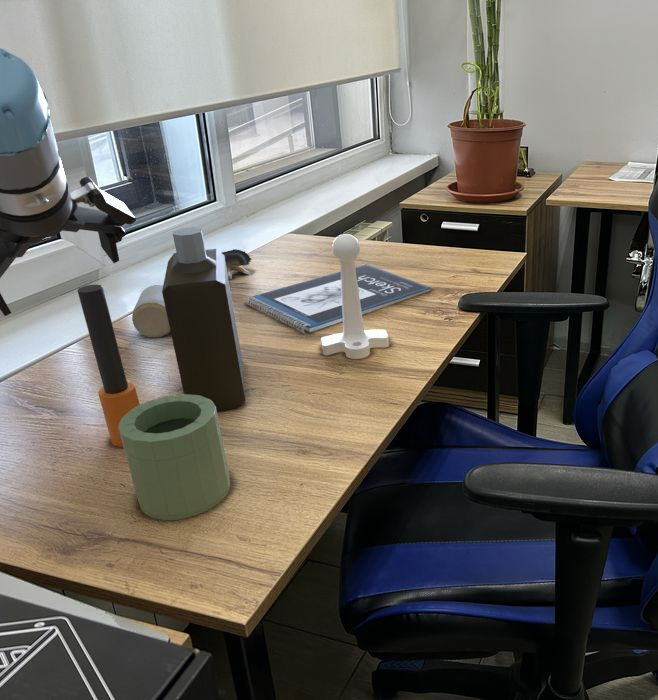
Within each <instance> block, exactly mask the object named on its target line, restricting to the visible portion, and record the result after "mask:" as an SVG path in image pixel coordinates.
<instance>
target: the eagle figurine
mask: <svg viewBox="0 0 658 700" xmlns="http://www.w3.org/2000/svg"><path fill="white" fill-rule="evenodd" d="M221 253H222V254H223V255H224V257H225V263H226V268H227V274H228V280H232V279H233V275H232V273H231V271H235V272H239V273H242V274H245V275H247V276H249V275H250V271H249V270H247V269H245V268H244V267H243V266H248V265H250V263H251V261H252V257H250V255H249V254H248V253H247V252H246V251H244V250H241V249H237V248H233V249H231V250H227V251H222V252H221Z"/></svg>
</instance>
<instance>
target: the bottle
mask: <svg viewBox="0 0 658 700" xmlns="http://www.w3.org/2000/svg"><path fill="white" fill-rule="evenodd" d="M172 237H173V241H174V246H175V252H173V254H172V255H171V256H170V258H169V259H168V261H167V264H166V269H165V275H164V279H163V284H162V285H163V289H162V294H163V299H164V304H165V308H166V313H167V317H168V322H169V327H170V331H171V332H170V335H171V340H172V345H173V349H174V354H175V358H176V363H177V367H178V368H177V369H178V372H179V377H180V381H181V386H182V391H183V394H188V395H200V396H202V397H205V398H208V399H210V400H211V401H212V402H213V403H214V405H215V406H216V410H217V413H218V412H223V411H229V410H235V409H236V410H237V409H238V408H240V407H243V405H244V403H246V391H245V390H246V389H245V377H244V376H245V375H244V364H243V356H242V351H241V344H240V339H239V334H238V326H237V321H236V316H235V311H234V304H233V299H232V292H231V286H230V279H229V278H228V274H227V268H226V263H225V257H224V255H223V254H222V252H221V251H220V250H218V249H217V248H210V249H209V248H208V249H206V246H205V240H204V235H203V229H202V228H200V227H194V226H193V227H192V226H191V227H182V228H179V229H176V230H173V232H172Z"/></svg>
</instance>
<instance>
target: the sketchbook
mask: <svg viewBox="0 0 658 700" xmlns="http://www.w3.org/2000/svg"><path fill="white" fill-rule="evenodd" d="M355 270H356V277H357V284H358V291H359V298H360V305H361V312H362V316H363V315H366V314H369V313H371V312H374V311H377V310H380V309H383V308H385V307H388V306H392V305H394V304H397V303H400V302H402V301H406V300H409V299H411V298H414V297H417V296H420V295H422V294H426V293H429V292H431V290H432V289H431V287H430V286H428V285H425V284H422V283H420V282H416V281H413V280H411V279H408V278H406V277H402V276H400V275H397V274H394V273H392V272H388V271H386V270H383V269H380V268H378V267H375V266H372V265H370V264H362V265H359V266H355ZM245 302H246V305H247V306H250V307H252V308H254V309H255V310H258V311H259V312H262V313H264V314H266V315H268V316H269V317H271V318H273V319H276V320H277V321H278V322H281V323H283V324H286V325H288V326H289V327H291V328H293V329H295V330H296V331H299V332H301V333H302V334H306V332H307V333H309V334H312V333H316V332H317V331H321V330H323V329H326V328H329V327H332V326H335V325H338V324H340V323H343V314H342V289H341V271H338V272H334V273H330V274H326V275H323V276H320V277H315V278H312V279H309V280H306V281H302V282H298V283H295V284H291V285H288V286H283V287H280V288H277V289H273V290H270V291H266V292H262V293H259V294H255V295H251V296H248V297H247V298H246V301H245Z"/></svg>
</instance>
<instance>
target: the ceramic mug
mask: <svg viewBox="0 0 658 700" xmlns="http://www.w3.org/2000/svg"><path fill="white" fill-rule="evenodd" d="M162 289H163V284H153V285H151V286H147V287H146V288H144V289H143V290H142V292H141V293H140V295H139V298H138V300H137V301H136V303H135V306H134V308H133V311H132V314H131V319H132V320H131V321H132V324H133V327H134V328H135V329H136V331H138V332H139V333H140V334H141V335H143V337H147V338H153V339H155V338H163V337H166V336H167V335H168V334H171V331H170V327H169V322H168V317H167V313H166V308H165V304H164V299H163V294H162Z"/></svg>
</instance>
